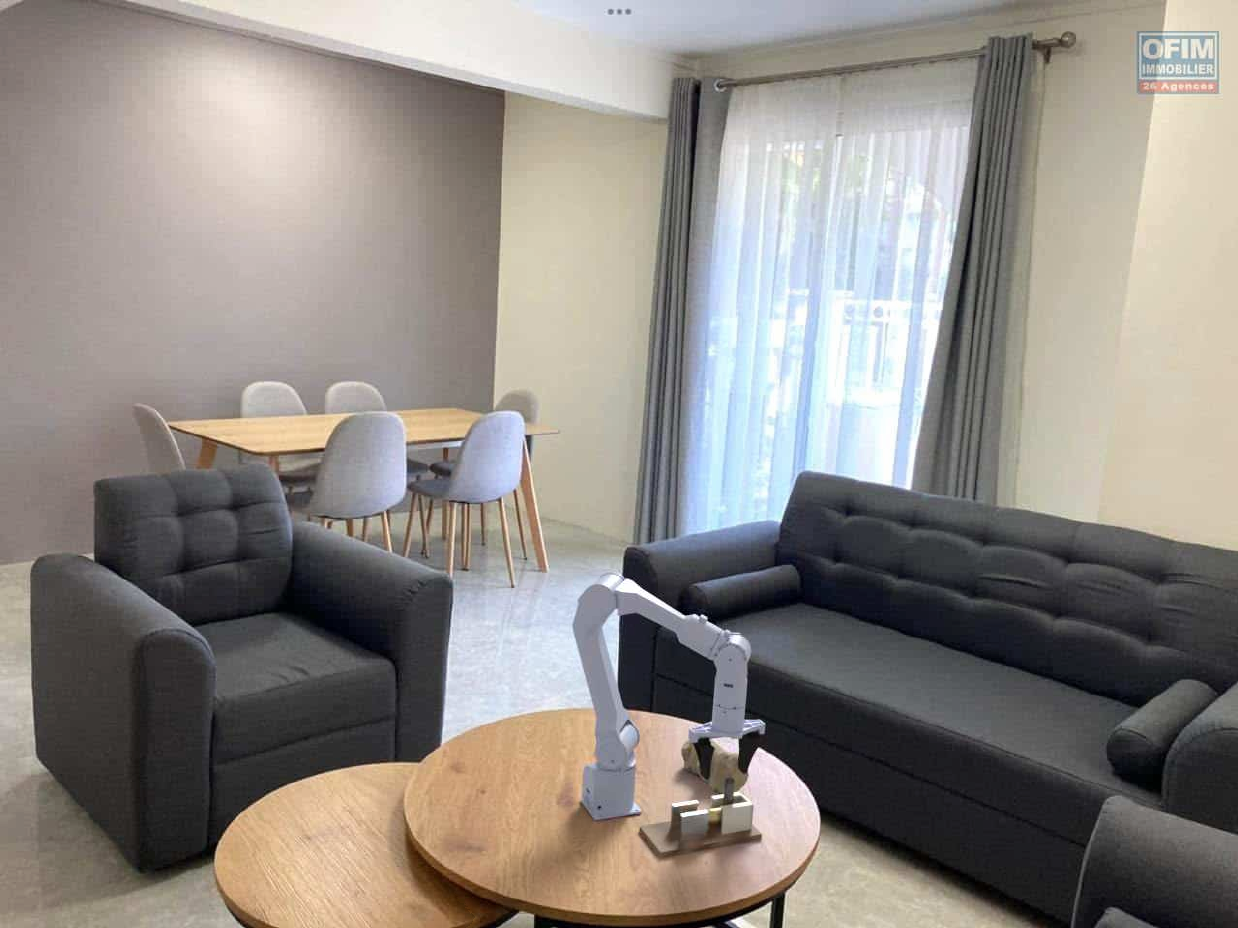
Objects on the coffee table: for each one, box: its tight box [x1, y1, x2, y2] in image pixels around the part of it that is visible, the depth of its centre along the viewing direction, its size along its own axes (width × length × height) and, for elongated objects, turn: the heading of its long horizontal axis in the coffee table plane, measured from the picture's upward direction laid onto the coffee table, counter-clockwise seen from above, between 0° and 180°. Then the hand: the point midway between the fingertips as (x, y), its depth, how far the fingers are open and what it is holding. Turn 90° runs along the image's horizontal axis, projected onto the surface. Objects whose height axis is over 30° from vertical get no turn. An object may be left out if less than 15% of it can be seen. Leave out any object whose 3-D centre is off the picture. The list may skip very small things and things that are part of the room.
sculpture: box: [680, 738, 749, 795], centre depth 198 cm, size 9×17×10 cm
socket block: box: [709, 791, 754, 834], centre depth 180 cm, size 6×5×5 cm
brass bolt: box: [686, 776, 735, 825], centre depth 178 cm, size 11×3×9 cm, turn 112°
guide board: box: [638, 799, 763, 859], centre depth 178 cm, size 20×9×6 cm, turn 112°
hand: (723, 773), depth 180 cm, fingers open, 7 cm apart
